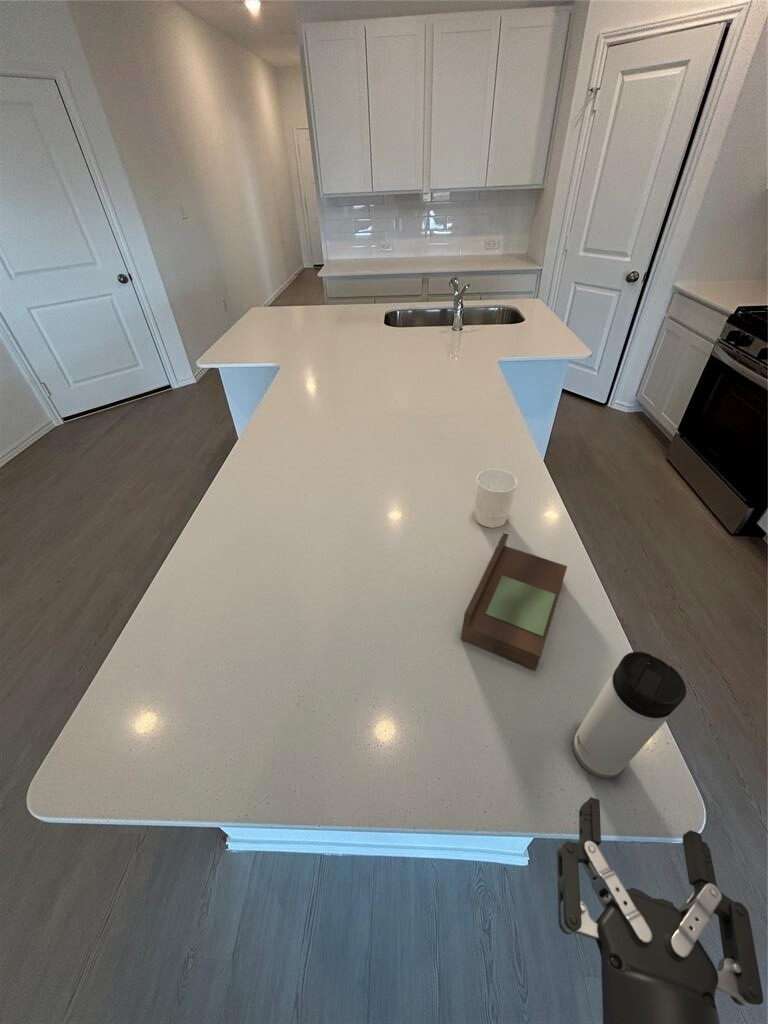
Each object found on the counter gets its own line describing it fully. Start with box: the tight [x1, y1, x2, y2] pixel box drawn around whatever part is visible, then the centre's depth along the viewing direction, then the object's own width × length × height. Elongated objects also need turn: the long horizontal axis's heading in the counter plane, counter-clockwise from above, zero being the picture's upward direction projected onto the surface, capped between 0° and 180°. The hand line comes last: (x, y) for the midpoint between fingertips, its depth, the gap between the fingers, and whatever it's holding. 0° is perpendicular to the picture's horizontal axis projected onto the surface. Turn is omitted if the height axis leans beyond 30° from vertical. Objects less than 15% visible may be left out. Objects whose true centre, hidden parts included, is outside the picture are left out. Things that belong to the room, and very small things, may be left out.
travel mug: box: [572, 651, 687, 779], centre depth 51 cm, size 6×7×20 cm
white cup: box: [474, 468, 518, 529], centre depth 90 cm, size 8×8×10 cm
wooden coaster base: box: [460, 532, 568, 671], centre depth 73 cm, size 12×20×7 cm, turn 152°
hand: (640, 816), depth 42 cm, fingers open, 8 cm apart
